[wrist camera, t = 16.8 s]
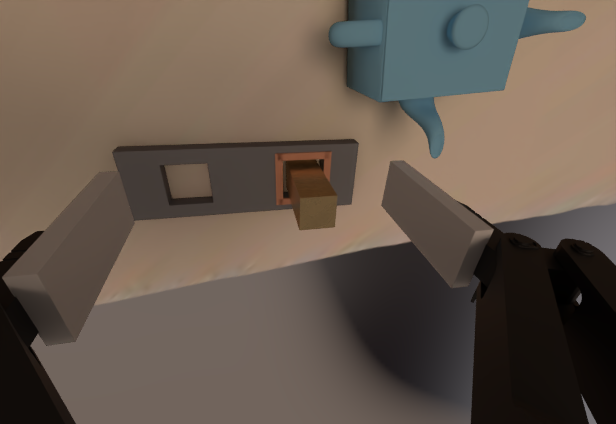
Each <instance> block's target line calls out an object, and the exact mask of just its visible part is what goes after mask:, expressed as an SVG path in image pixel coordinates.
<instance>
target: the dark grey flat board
mask: <svg viewBox="0 0 616 424" xmlns="http://www.w3.org/2000/svg"><path fill="white" fill-rule="evenodd" d="M358 145H359V143H358V142H357V141H356V140H354V139H344V140H313V141H282V142H251V143H220V144H189V145H158V146H127V147H117V148H116V149H115V150H114V151H113V152H112V153H113V156H114V159H115V163H116V166H117V169H118V171H119V173H120V177H121V180H122V183H123V187H124V190H125V193H126V197H127V200H128V203H129V206H130V209H131V213H132V216H133V219H134V221H136V220H149V219H163V218H176V217H189V216H203V215H216V214H230V213H243V212H256V211H270V210H283V209H293V208H292V204H291V201H290V198H289V195H288V192H283V161H289V160H311V159H320V168H321V169H322V171H323V173H324V174H325V176H326V178H327V179H328V181H329V182H330V184H331V186H332V187H333V189H334V191H335V192H336V194H337V205H350V204H351V203H352V195H353V187H354V178H355V170H356V162H357V153H358ZM202 163H208V169H209V176H210V182H211V189H212V195H213V196H211V197H195V198H179V199H172V198H171V193H170V189H169V185H168V181H167V176H166V172H165V168H164V165H180V164H202Z"/></svg>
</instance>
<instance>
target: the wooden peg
mask: <svg viewBox="0 0 616 424" xmlns="http://www.w3.org/2000/svg"><path fill="white" fill-rule="evenodd" d="M286 188H287V191H288V195H289V198H290V201H291V204H292V208H293V211H294V214H295V217H296V220H297V224H298V227H299V230H309V229H320V228H331V227H335V218H336V207H337V194H336V192H335V191H334V189H333V187H332V186H331V184H330V182H329V181H328V179H327V178H326V176H325V174H324V173H323V171H322V169H321V168H320V166H319V165H318V163H317V161H316V160H315V159H311V160H289V161H286Z"/></svg>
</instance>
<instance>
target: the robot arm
mask: <svg viewBox="0 0 616 424" xmlns="http://www.w3.org/2000/svg"><path fill="white" fill-rule="evenodd" d="M381 206H382V207H383V208H384V209H385V210H386V212H387V213H388V214H389V215H390V216H391V217H392V219H393V220H394V221H395V222H396V223H397V224H398V226H399V227H400V228H401V229H402V230H403V232H404V233H405V234H406V235H407V236H408V237H409V239H410V240H411V241H412V242H413V243H414V244H415V245H416V247H417V248H418V249H419V250H420V252H421V253H422V254H423V255H424V256H425V257H426V259H427V260H428V261H429V262H430V263H431V264H432V266H433V267H434V268H435V269H436V270H437V271H438V273H439V274H440V275H441V276H442V277H443V278H444V279H445V281H446V282H447V283H448V284H449V286H450V287H451V288H457V287H464V286H469V283H470V281H471V279H472V276H473V275H475V276H476V277H477V278H478V279H479V280H480V282H479V285H478V287H477V289H476V291H475V293H474V295H473V297H472V299H471V302H474V301H475V299H476V319H475V320H476V321H475V343H474V366H473V387H472V388H473V389H472V410H471V424H589V422H588V419H587V415H586V411H585V407H584V404H583V400H582V396H583V398H584V400H585V402H586V403H587V406H588V408H589V409H590V411H591V413H592V415H593V417H594V419H595V420H596V423H597V424H616V265H614V263H612V261H611V260H610V259H609V258H608V257H607V256H606V255H605V254H604V253H603V252H601V251H600V250H599V249H597V248H596V247H594V246H592V245H591V244H589V243H587V242H586V243H585V242H584V241H581V240H575V239H563V240H561V242H560V243H559V245H558V247H557V248H556V249H549V248H541V246H540V245H539V244H538V243H537V242H536V241H534V240H532V239H531V238H529V237H526V236H523V235H521V234H516V233H505V234H504V233H503V232H501V231H500V230H499V229H497V228H496V227H495V226H493V225H492V224H491V223H489V222H488V221H487V220H485V219H484V218H482V217H481V216H480V215H479V214H477V213H475V211H473V210H472V209H471V208H469V207H468V206H467V205H465V204H462V203H460V202H458V201H456V200H455V199H453V198H452V197H451V196H449V195H448V194H447V193H445V192H444V191H443V190H442V189H440V188H439V187H438V186H436V185H435V184H434V183H432V182H431V181H430V180H428V179H427V178H426V177H424V176H423V175H422V174H421V173H419V172H418V171H417V170H415V169H414V168H413V167H411V166H410V165H409V164H407V163H406V162H405V161H404V160H403V161H390V166H389V171H388V176H387V181H386V186H385V191H384V196H383V200H382V205H381ZM133 225H134V220H133V216H132V213H131V210H130V207H129V203H128V200H127V197H126V193H125V190H124V187H123V183H122V180H121V177H120V173H119V171H110V172H99V173H98V174H97V175H96V176H95V177H94V178H93V179H92V180H91V182H90V183H89V184H88V185H87V186H86V187H85V188H84V189H83V190H82V191H81V192H80V193H79V194H78V196H77V197H76V198H75V199H74V200H73V201H72V202H71V203H70V204H69V205H68V206H67V207H66V209H65V210H64V211H63V212H62V213H61V214H60V215H59V216H58V217H57V218H56V219H55V220H54V222H53V223H52V224H51V225H50V226H49V227H48V228H47V229H46V230H45V231H37V232H35V233H33V234H32V235H30V236H28V237H27V238H25V239H23V240H21V241H20V242H19V243H18V244H17V245H16V246H15V247H14V248H13V249H12V251H11V253H9V254H8V255H7V256H6V257H5V258H4V259H3V261H1V262H0V424H76V423H75V421H74V420H73V418H72V416H71V414H70V413H69V411H68V409H67V407H66V406H65V404H64V402H63V400H62V399H61V397H60V395H59V393H58V392H57V390H56V388H55V387H54V385H53V383H52V381H51V380H50V378H49V376H48V374H47V373H46V371H45V369H44V367H43V366H42V364H41V362H40V361H39V359H38V357H37V355H36V354H35V352H34V350H33V349H32V347H30V345H31V343H32V342H33V340H34V339H35V337H36V336H37V334H39V335H40V337H41V338H42V340H43V342H44V343H45V345H46V346H48V345H55V344H63V343H70V342H75V341H76V340H77V338H78V336H79V333H80V332H81V330H82V327H83V326H84V323H85V322H86V319H87V317H88V315H89V313H90V311H91V309H92V307H93V305H94V303H95V301H96V299H97V297H98V295H99V293H100V291H101V289H102V287H103V285H104V283H105V281H106V279H107V277H108V275H109V273H110V271H111V269H112V267H113V265H114V263H115V261H116V259H117V257H118V255H119V253H120V251H121V249H122V247H123V245H124V243H125V241H126V239H127V237H128V235H129V233H130V231H131V229H132V227H133ZM580 293H581V294H582V301H581V303H580V305H579V304H578V302H577V301H576V299H577V297H578V296H579V295H580ZM581 394H582V396H581Z"/></svg>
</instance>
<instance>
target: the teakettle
mask: <svg viewBox="0 0 616 424" xmlns="http://www.w3.org/2000/svg"><path fill="white" fill-rule="evenodd" d="M528 3H529V0H349V2H348V21H342V22H336V23H334V24H333V25H332V26H331V28H330V30H329V41H330V43H331V44H332V45H333V46H335V47H343V48H344V47H348V58H347V87H349V88H351V89H353V90H355V91H357V92H359V93H362V94H364V95H366V96H368V97H370V98H372V99H374V100H376V101H378V102H387V101H399V104H400V106H401V107H402V109H403V110H404V111H405V113H406V114H408V115H409V116H410V117H411V118H412V119H413V120H414V121H415V122H417V123H418V124H419V125H420V126H421V127H422V129H423V130H424V132H425V133H426V136H427V138H428V143H429V149H430V154H431V156H432V157H433V158H437V157H438V156H439V155H440V154H441V152H442V149H443V145H444V130H443V126H442V122H441V120H440V117H439V115H438V113H437V111H436V108H435V104H434V97H439V96H449V95H459V94H470V93H480V92H490V91H500V90H504V89H505V84H506V81H507V77H508V73H509V70H510V66H511V63H512V60H513V56H514V53H515V49H516V45H517V42H518V39H520V38H524V37H529V36H533V35H538V34H545V33H553V32H565V31H570V30H574V29H576V28H578V27H580V26H581V25H582V24H583V23H584V22H585V20H586V16H585V15H584V14H583V13H581V12H578V11H548V10H539V9H534V8H529V7H527V6H528Z"/></svg>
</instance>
